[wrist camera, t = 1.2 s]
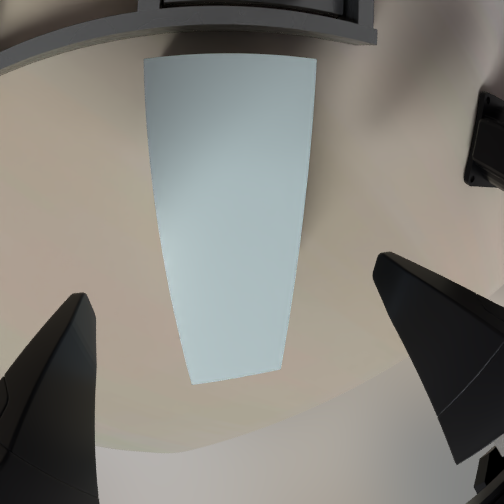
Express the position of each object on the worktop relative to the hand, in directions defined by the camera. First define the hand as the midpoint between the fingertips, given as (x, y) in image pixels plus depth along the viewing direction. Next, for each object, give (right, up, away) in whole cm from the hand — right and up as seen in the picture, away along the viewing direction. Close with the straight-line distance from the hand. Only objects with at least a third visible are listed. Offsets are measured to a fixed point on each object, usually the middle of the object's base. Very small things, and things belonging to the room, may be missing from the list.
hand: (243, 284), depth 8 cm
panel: (-2, +3, +5) cm, 6 cm away
